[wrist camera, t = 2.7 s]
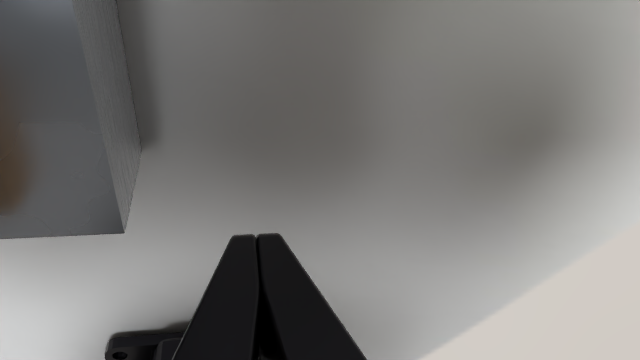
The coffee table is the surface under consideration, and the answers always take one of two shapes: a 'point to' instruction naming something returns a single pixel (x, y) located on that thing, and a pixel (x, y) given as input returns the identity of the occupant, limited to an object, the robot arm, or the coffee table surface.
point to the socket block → (65, 120)
